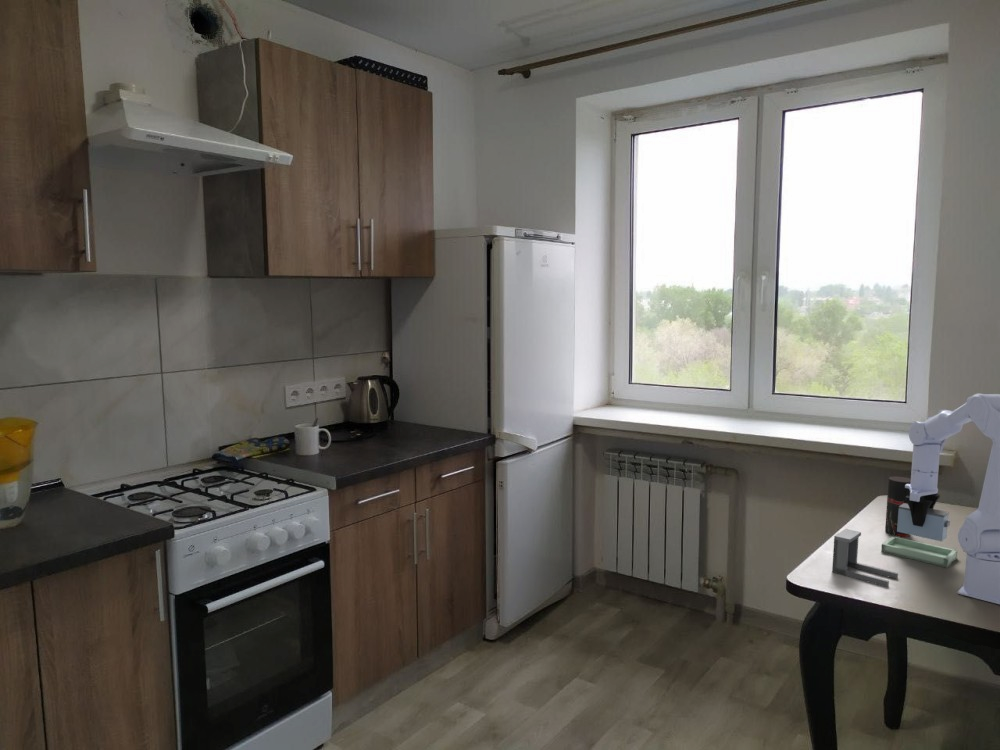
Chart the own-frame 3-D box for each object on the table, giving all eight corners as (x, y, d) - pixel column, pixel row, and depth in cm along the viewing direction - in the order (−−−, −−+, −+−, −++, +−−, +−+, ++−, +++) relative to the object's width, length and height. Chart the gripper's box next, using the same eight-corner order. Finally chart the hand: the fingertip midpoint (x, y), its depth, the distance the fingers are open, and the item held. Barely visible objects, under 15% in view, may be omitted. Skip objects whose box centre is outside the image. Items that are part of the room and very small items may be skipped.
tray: (956, 558, 179) (957, 550, 178) (947, 567, 173) (947, 559, 172) (892, 543, 189) (892, 536, 189) (881, 551, 183) (881, 544, 183)
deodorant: (897, 537, 193) (900, 483, 191) (879, 530, 199) (883, 477, 197) (915, 535, 195) (919, 481, 193) (897, 528, 200) (901, 475, 199)
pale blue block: (949, 538, 177) (951, 512, 176) (944, 542, 174) (947, 516, 174) (902, 527, 185) (903, 503, 184) (896, 531, 182) (898, 506, 181)
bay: (897, 578, 166) (900, 541, 165) (887, 586, 161) (890, 548, 160) (843, 563, 175) (845, 528, 174) (832, 572, 170) (834, 535, 169)
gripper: (915, 462, 186) (912, 513, 188) (897, 472, 176) (893, 526, 177) (947, 467, 181) (942, 519, 183) (930, 477, 171) (925, 533, 172)
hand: (920, 523), depth 180 cm, fingers closed on pale blue block, 4 cm apart
